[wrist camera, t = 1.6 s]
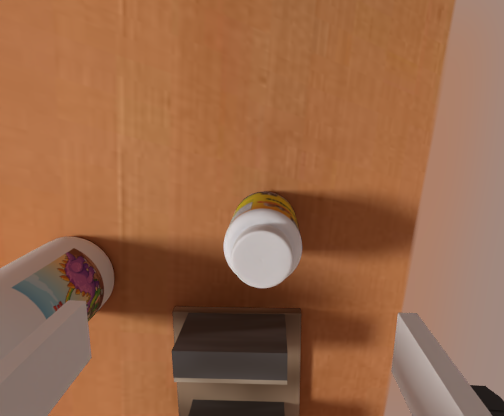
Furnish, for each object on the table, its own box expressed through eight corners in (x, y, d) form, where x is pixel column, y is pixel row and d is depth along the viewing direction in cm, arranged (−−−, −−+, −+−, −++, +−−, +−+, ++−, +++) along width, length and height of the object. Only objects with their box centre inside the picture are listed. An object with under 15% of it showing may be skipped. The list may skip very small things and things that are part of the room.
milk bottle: (38, 304, 37) (-218, 508, 18) (36, 229, 35) (-252, 363, 16) (116, 314, 37) (-58, 530, 17) (118, 239, 35) (-73, 386, 16)
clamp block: (175, 306, 36) (152, 349, 30) (300, 308, 36) (307, 352, 29) (181, 413, 39) (162, 474, 32) (298, 416, 38) (304, 480, 32)
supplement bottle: (308, 224, 34) (323, 267, 24) (260, 260, 35) (256, 316, 25) (269, 176, 33) (267, 200, 23) (221, 215, 34) (200, 254, 24)
